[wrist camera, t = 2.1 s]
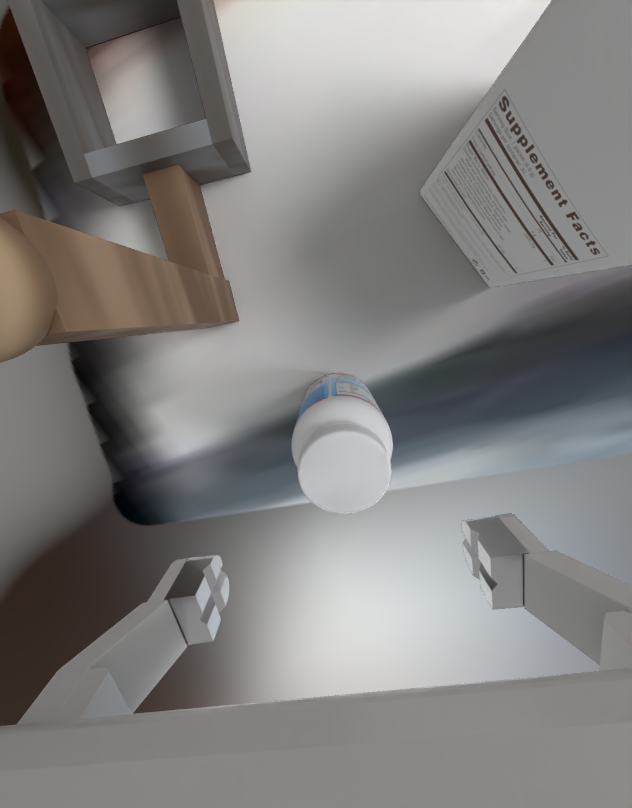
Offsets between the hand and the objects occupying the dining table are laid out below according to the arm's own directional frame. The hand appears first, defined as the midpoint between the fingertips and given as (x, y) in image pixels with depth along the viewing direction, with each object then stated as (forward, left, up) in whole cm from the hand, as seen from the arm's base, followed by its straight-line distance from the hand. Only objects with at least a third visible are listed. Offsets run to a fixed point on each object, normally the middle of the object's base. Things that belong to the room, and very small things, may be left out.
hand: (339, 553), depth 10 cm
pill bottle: (0, 0, -16) cm, 16 cm away
